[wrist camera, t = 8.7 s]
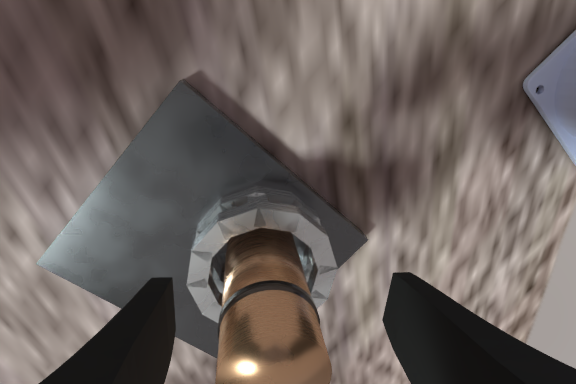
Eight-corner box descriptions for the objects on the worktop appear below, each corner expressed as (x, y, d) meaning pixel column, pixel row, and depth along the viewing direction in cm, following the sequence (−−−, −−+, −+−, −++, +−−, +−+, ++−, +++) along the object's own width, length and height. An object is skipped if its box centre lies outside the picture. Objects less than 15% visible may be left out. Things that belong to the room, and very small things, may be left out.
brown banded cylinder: (309, 239, 20) (357, 367, 12) (264, 285, 21) (279, 435, 12) (256, 199, 18) (268, 312, 10) (210, 250, 19) (187, 393, 11)
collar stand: (362, 232, 21) (388, 267, 18) (234, 355, 24) (233, 409, 20) (183, 79, 17) (167, 84, 13) (46, 254, 19) (-1, 300, 15)
